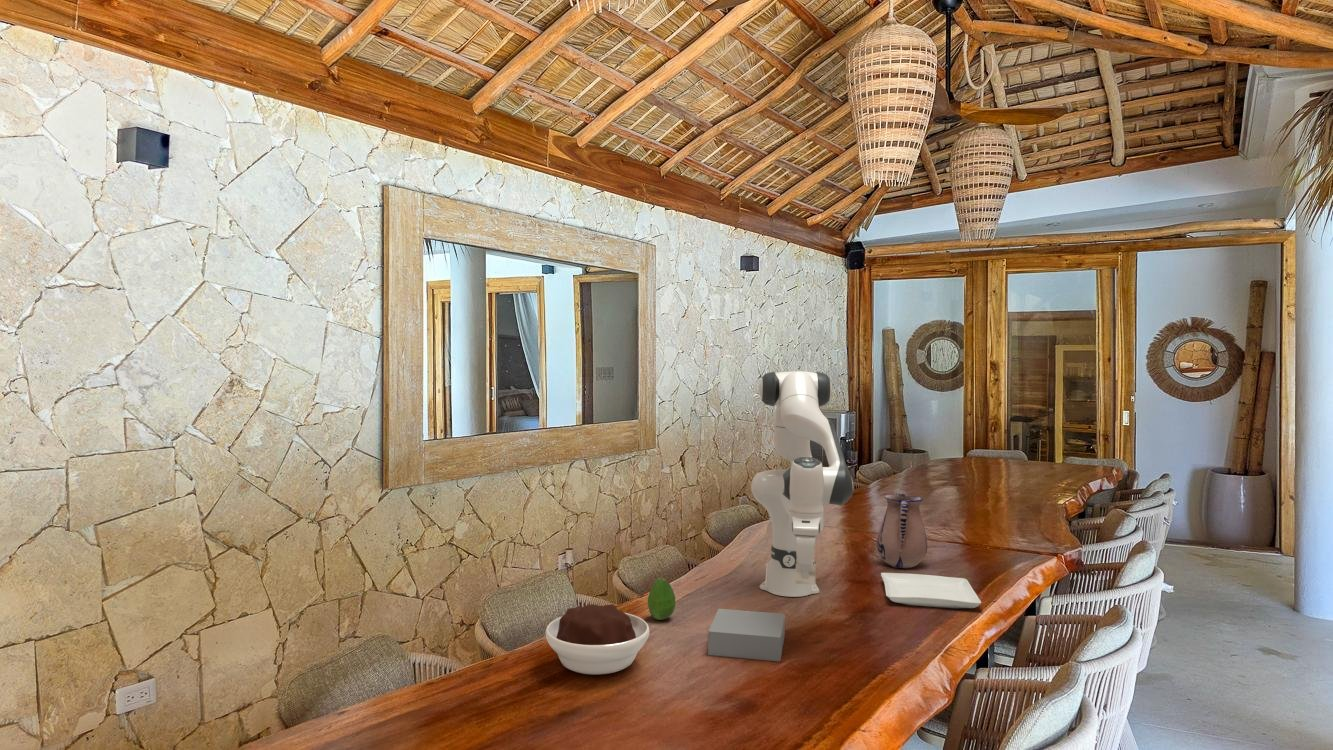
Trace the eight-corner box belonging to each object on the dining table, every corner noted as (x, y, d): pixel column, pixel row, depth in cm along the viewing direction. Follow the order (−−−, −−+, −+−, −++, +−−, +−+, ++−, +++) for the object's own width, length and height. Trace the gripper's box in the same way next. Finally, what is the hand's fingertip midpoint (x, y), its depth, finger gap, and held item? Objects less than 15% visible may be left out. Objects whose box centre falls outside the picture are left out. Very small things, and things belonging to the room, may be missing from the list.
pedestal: (718, 630, 216) (718, 608, 216) (784, 635, 212) (785, 613, 212) (708, 654, 198) (708, 631, 198) (780, 661, 194) (780, 637, 194)
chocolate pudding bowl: (596, 639, 208) (597, 582, 208) (670, 663, 192) (670, 602, 192) (523, 668, 189) (523, 605, 188) (598, 697, 173) (598, 629, 173)
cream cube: (796, 577, 206) (796, 558, 206) (815, 579, 205) (815, 560, 205) (795, 583, 202) (795, 564, 201) (815, 584, 201) (815, 565, 200)
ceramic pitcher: (920, 559, 292) (922, 492, 292) (934, 575, 271) (936, 503, 271) (872, 558, 294) (873, 491, 293) (882, 573, 273) (883, 502, 272)
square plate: (982, 614, 232) (982, 601, 232) (886, 607, 238) (886, 595, 238) (966, 588, 259) (966, 576, 259) (880, 582, 264) (880, 570, 264)
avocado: (651, 625, 219) (651, 582, 219) (644, 615, 227) (645, 574, 227) (678, 622, 222) (679, 580, 221) (671, 613, 229) (671, 572, 229)
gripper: (795, 512, 214) (794, 563, 214) (792, 529, 194) (791, 585, 194) (818, 513, 213) (817, 564, 213) (818, 530, 192) (817, 586, 193)
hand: (805, 574), depth 203 cm, fingers closed on cream cube, 5 cm apart
